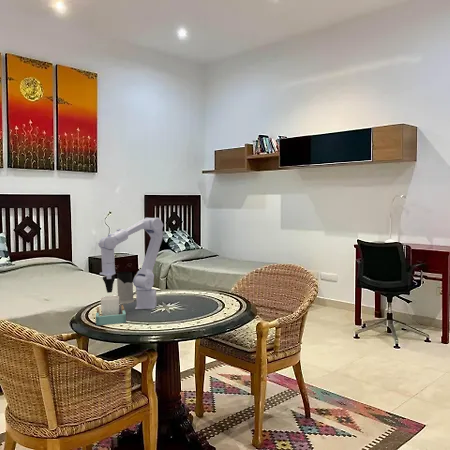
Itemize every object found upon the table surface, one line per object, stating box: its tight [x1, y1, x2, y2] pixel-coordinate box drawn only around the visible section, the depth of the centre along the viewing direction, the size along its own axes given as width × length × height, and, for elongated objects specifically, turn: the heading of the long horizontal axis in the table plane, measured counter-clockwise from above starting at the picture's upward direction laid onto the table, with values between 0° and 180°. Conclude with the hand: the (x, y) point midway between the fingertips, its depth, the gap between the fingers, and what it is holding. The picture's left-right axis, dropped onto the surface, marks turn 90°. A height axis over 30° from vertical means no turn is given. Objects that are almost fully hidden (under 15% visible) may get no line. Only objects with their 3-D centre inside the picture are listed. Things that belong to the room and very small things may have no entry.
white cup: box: [100, 295, 120, 316], centre depth 195 cm, size 8×8×10 cm
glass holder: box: [116, 271, 137, 305], centre depth 232 cm, size 9×14×15 cm, turn 127°
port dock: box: [95, 309, 127, 326], centre depth 193 cm, size 12×8×4 cm, turn 105°
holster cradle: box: [96, 304, 125, 314], centre depth 206 cm, size 12×8×3 cm, turn 105°
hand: (109, 292), depth 204 cm, fingers closed
